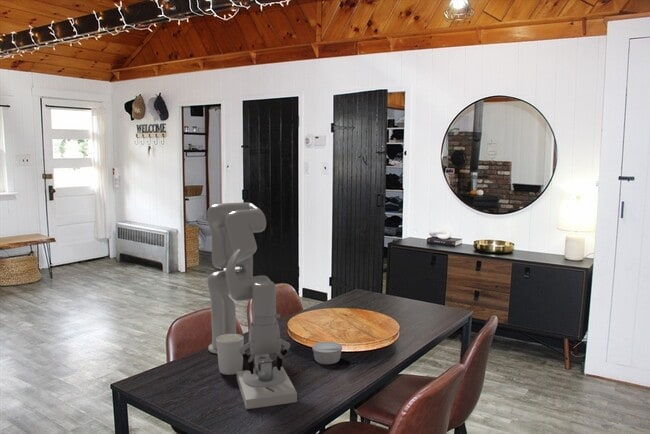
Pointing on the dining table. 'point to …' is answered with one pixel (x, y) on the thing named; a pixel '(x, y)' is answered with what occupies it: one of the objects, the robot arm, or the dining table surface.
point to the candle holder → (230, 353)
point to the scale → (266, 389)
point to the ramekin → (327, 352)
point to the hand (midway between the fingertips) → (265, 370)
